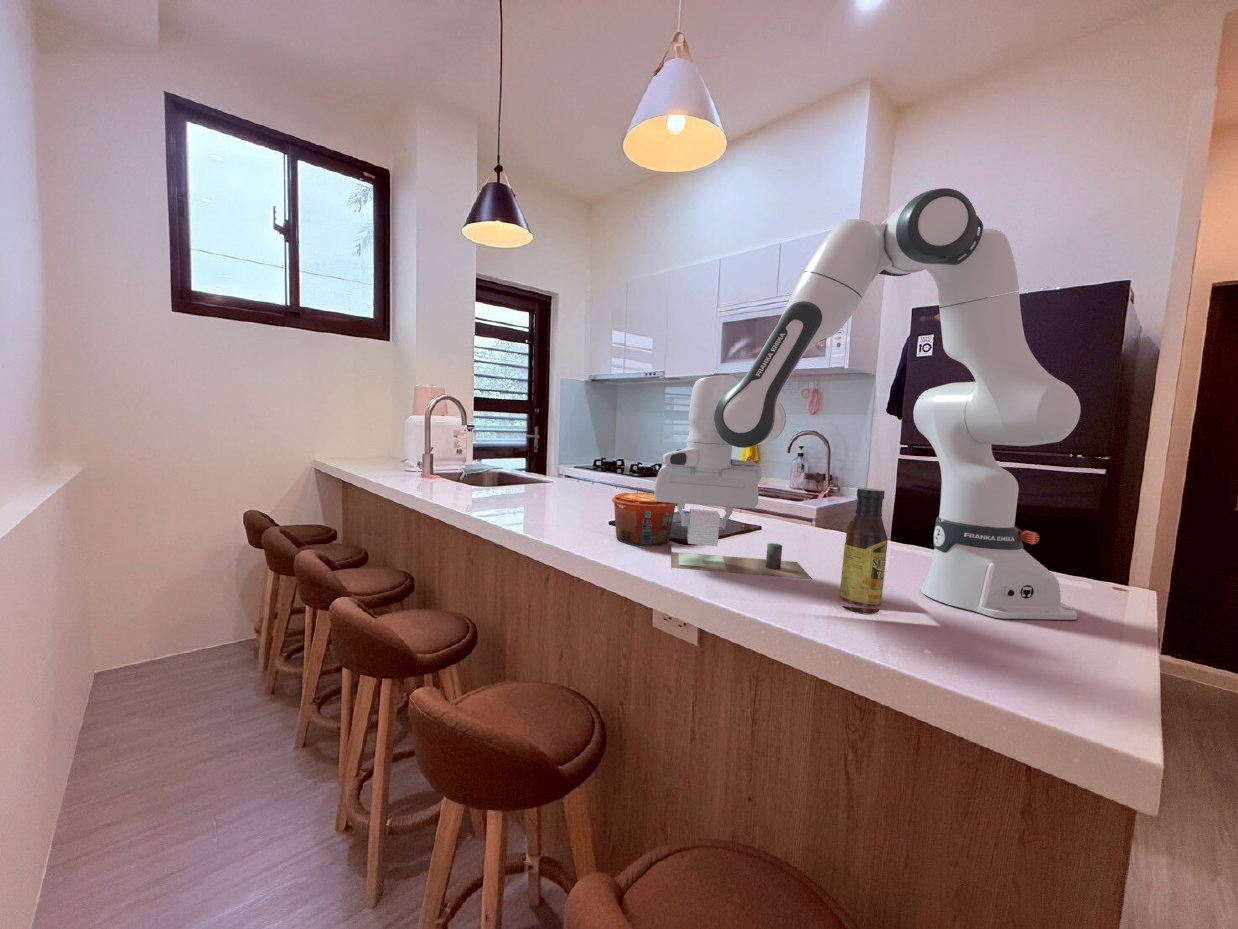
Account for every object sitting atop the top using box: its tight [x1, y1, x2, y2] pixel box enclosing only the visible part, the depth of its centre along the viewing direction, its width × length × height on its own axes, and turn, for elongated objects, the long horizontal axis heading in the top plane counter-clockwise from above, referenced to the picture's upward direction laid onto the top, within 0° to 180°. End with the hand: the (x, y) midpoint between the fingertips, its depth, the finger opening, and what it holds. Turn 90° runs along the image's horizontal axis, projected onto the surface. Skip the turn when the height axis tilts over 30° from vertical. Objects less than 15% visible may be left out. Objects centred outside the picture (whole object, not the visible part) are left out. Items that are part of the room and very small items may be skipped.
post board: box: [670, 542, 813, 580], centre depth 102 cm, size 26×12×6 cm, turn 84°
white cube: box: [686, 508, 721, 547], centre depth 102 cm, size 6×6×6 cm
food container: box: [611, 492, 678, 547], centre depth 126 cm, size 16×16×11 cm
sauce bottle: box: [839, 487, 888, 615], centre depth 84 cm, size 6×6×20 cm
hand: (703, 527), depth 102 cm, fingers closed on white cube, 6 cm apart
